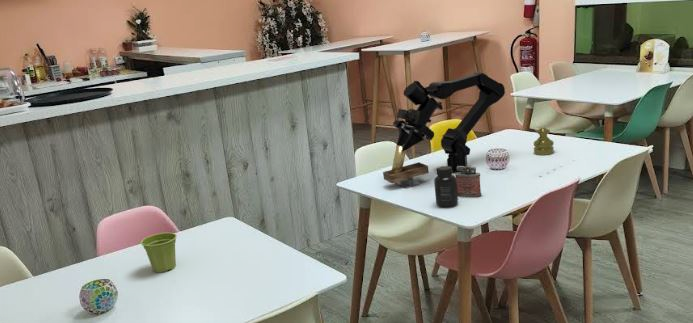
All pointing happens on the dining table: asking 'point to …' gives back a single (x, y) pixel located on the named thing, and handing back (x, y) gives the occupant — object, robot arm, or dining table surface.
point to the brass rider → (398, 160)
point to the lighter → (468, 182)
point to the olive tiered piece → (543, 143)
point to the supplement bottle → (445, 187)
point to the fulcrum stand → (407, 183)
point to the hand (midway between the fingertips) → (400, 149)
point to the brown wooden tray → (406, 172)
